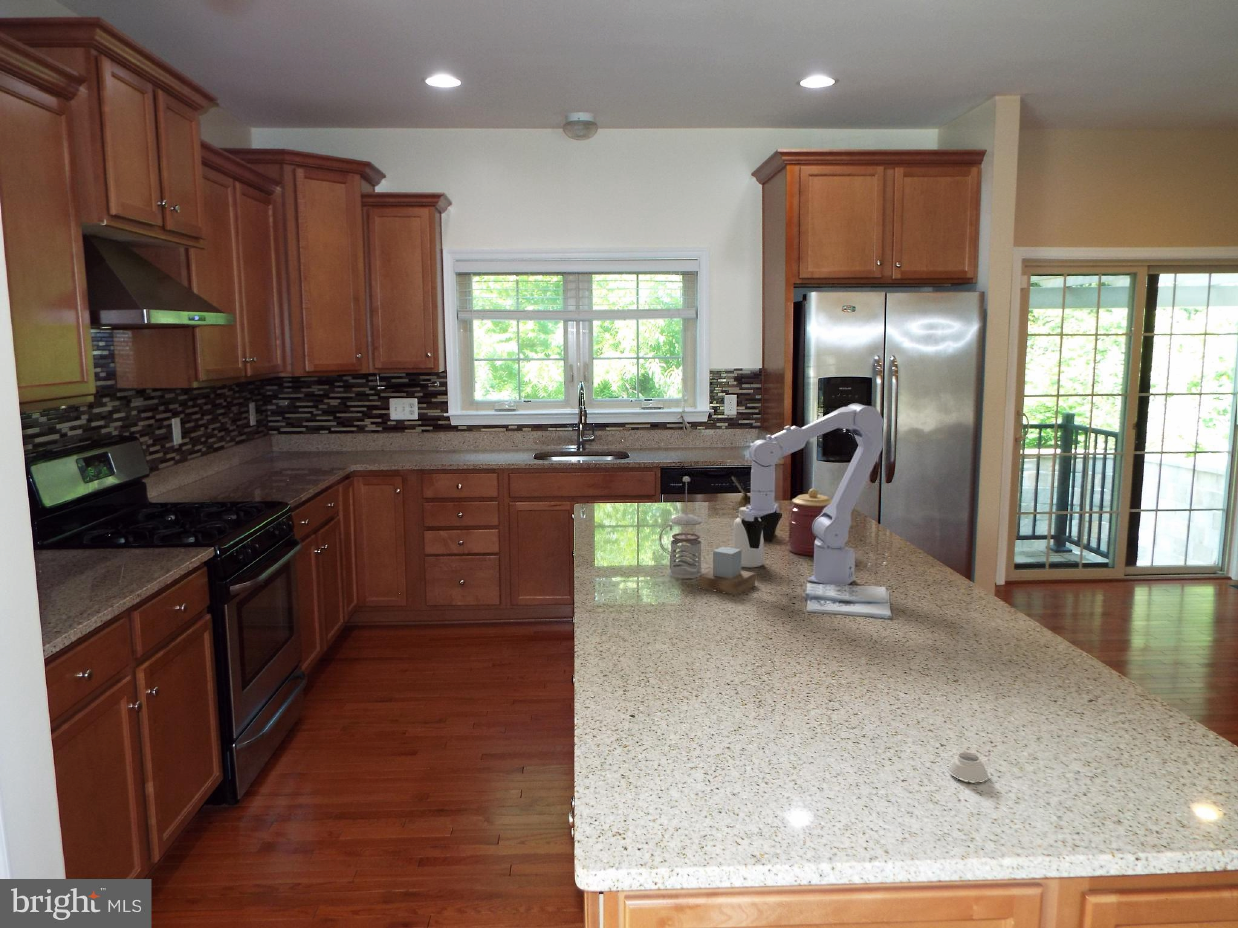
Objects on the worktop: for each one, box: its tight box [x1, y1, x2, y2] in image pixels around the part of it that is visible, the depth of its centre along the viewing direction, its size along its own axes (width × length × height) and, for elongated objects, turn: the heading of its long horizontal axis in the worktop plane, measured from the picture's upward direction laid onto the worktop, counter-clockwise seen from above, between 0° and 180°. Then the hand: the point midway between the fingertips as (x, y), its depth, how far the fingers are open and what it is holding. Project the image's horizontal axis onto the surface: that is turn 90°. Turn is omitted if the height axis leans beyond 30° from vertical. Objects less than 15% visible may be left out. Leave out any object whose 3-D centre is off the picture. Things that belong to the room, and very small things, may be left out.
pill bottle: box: [732, 506, 765, 568], centre depth 226 cm, size 8×8×15 cm
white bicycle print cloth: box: [804, 582, 893, 620], centre depth 195 cm, size 19×20×2 cm
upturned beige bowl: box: [948, 751, 989, 782], centre depth 119 cm, size 5×3×5 cm
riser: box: [698, 569, 756, 596], centre depth 207 cm, size 10×10×3 cm
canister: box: [787, 488, 832, 557], centre depth 240 cm, size 13×13×18 cm
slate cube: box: [712, 546, 742, 579], centre depth 206 cm, size 5×5×6 cm
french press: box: [658, 476, 705, 579], centre depth 217 cm, size 10×12×25 cm
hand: (761, 544), depth 209 cm, fingers open, 7 cm apart
